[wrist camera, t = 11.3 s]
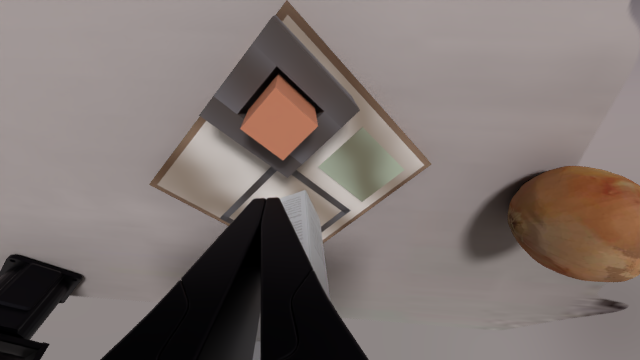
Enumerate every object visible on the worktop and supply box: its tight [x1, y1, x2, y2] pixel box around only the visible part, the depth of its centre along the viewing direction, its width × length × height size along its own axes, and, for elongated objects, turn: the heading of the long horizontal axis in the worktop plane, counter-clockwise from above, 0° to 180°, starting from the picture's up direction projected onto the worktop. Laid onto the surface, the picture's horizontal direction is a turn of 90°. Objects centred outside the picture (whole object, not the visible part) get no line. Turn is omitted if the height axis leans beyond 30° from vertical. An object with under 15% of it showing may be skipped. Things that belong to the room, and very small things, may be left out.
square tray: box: [149, 1, 431, 243], centre depth 21 cm, size 18×17×4 cm
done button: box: [240, 73, 318, 160], centre depth 15 cm, size 3×3×3 cm
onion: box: [508, 166, 640, 282], centre depth 22 cm, size 10×10×10 cm
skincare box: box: [253, 190, 331, 360], centre depth 19 cm, size 6×4×12 cm
